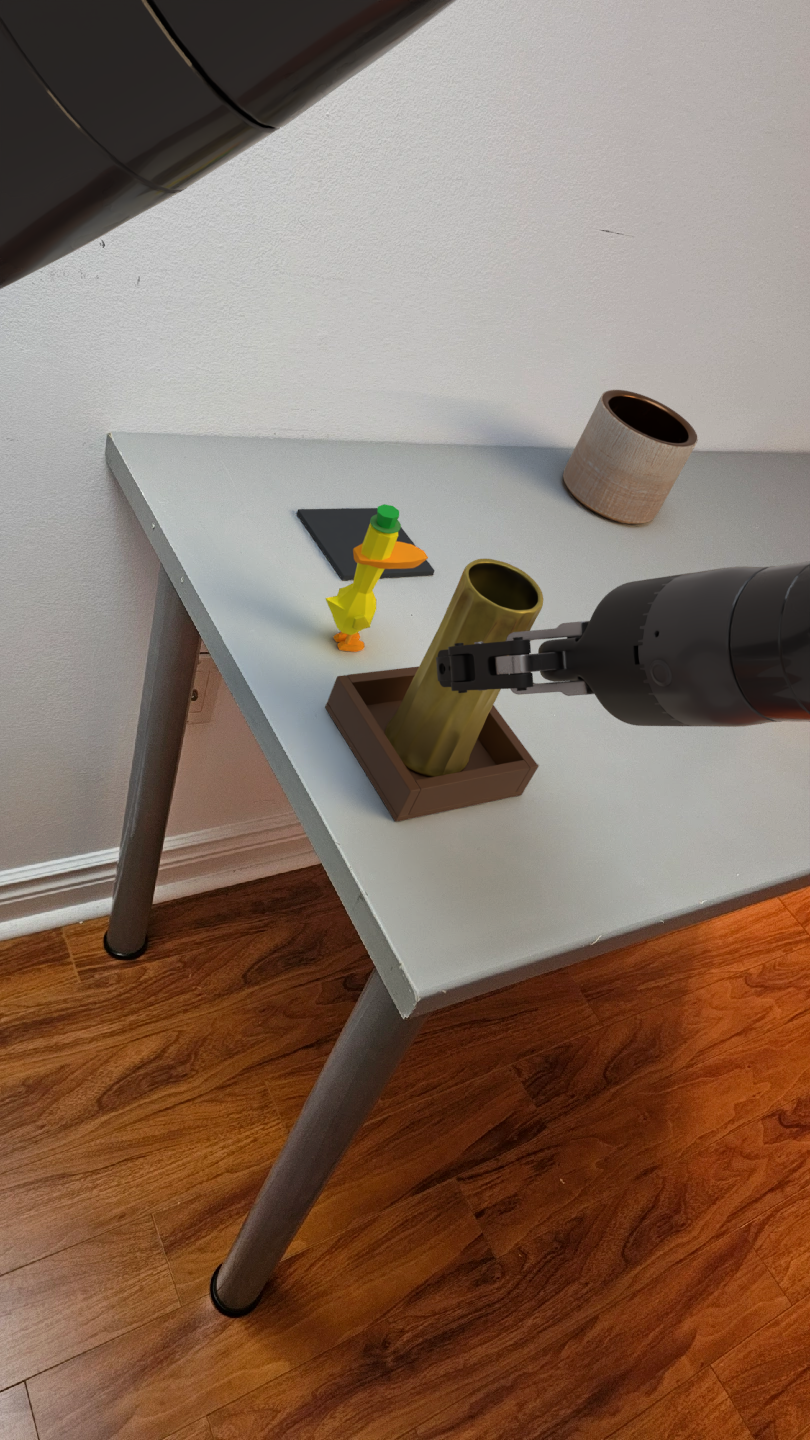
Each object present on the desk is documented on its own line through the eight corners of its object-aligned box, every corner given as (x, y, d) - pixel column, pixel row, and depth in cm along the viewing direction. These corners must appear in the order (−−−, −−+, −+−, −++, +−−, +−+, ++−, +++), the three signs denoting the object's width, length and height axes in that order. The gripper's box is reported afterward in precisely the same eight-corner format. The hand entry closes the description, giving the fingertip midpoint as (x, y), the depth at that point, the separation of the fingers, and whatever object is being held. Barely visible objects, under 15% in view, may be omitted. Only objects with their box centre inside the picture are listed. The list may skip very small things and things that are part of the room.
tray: (395, 822, 68) (410, 791, 66) (324, 707, 73) (336, 675, 71) (521, 795, 73) (539, 766, 71) (447, 690, 79) (461, 660, 77)
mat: (342, 580, 85) (344, 575, 85) (296, 513, 90) (297, 508, 89) (433, 575, 90) (435, 570, 90) (384, 512, 95) (386, 507, 94)
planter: (599, 529, 106) (643, 446, 100) (541, 467, 112) (580, 385, 106) (673, 527, 112) (719, 448, 106) (615, 468, 118) (655, 391, 112)
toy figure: (381, 627, 82) (433, 498, 74) (398, 658, 80) (453, 529, 72) (301, 628, 79) (347, 493, 71) (317, 660, 77) (366, 525, 69)
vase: (408, 784, 70) (488, 619, 61) (369, 719, 73) (440, 553, 64) (482, 773, 73) (569, 615, 64) (442, 710, 76) (519, 552, 67)
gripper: (792, 568, 55) (581, 598, 69) (587, 575, 47) (396, 607, 61) (801, 712, 55) (590, 713, 69) (599, 742, 48) (407, 736, 61)
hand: (499, 663), depth 65 cm, fingers open, 8 cm apart
